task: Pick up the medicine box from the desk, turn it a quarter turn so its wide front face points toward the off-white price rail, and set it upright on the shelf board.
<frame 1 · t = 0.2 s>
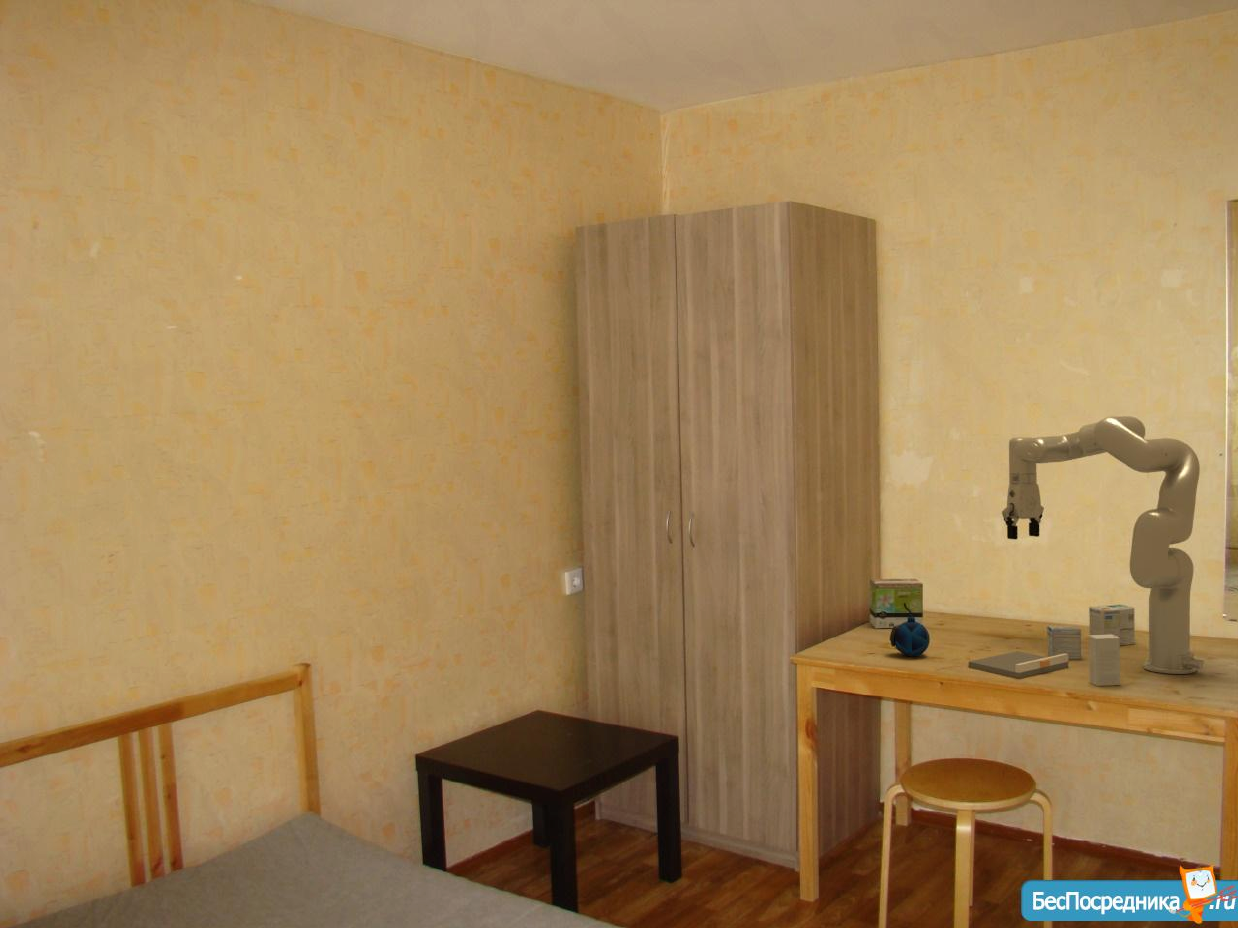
hand: (1023, 537, 318), 31 cm above the table, tool pointing down, fingers open, 9 cm apart
light bulb box: (1112, 644, 313), on the table
medicine box: (1064, 659, 297), on the table
skincare box: (1104, 684, 269), on the table
bomb: (909, 656, 305), on the table
tea box: (896, 626, 347), on the table
shelf board: (1018, 667, 289), on the table
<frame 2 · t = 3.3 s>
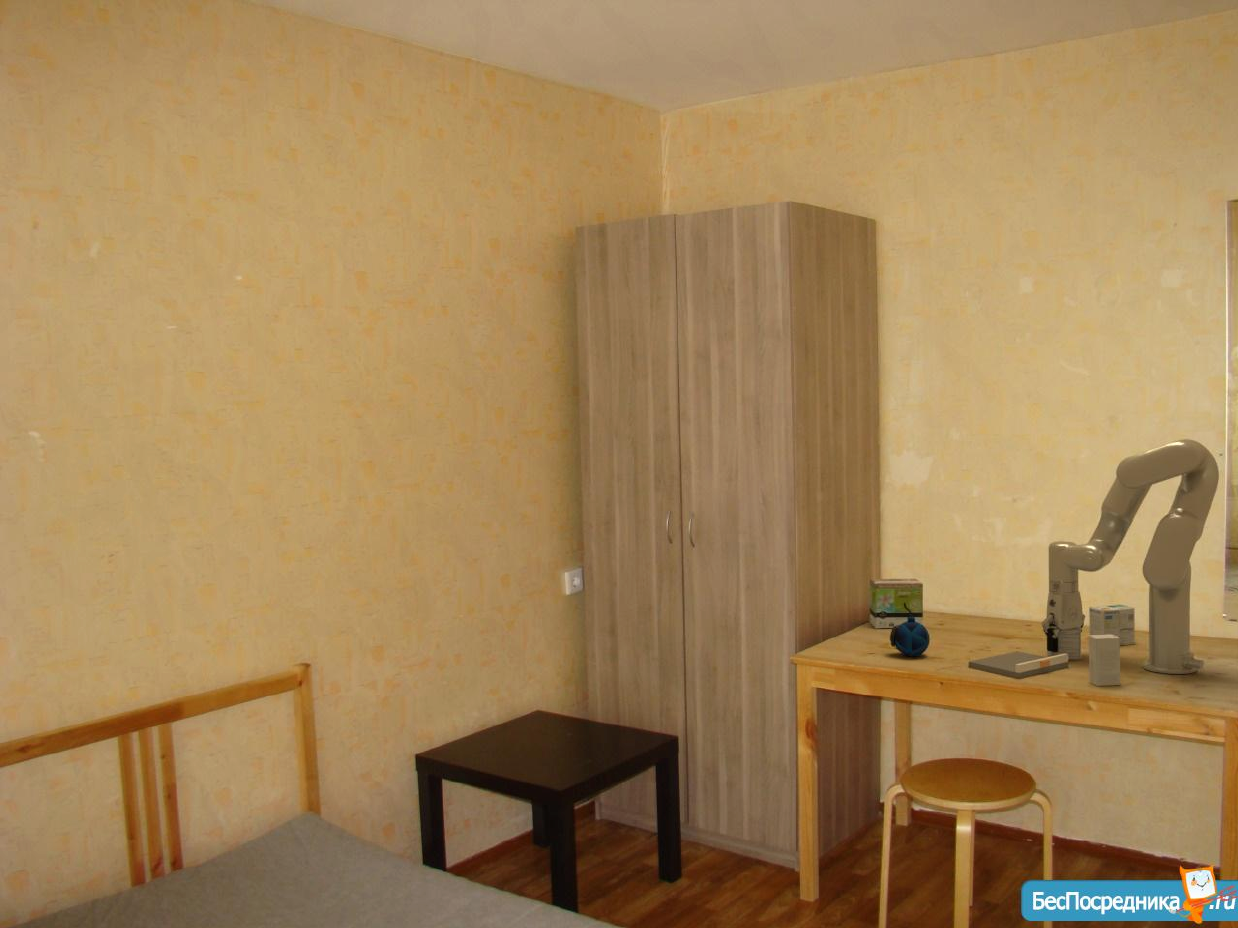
hand: (1063, 648, 297), 3 cm above the table, tool pointing down, fingers open, 9 cm apart
medicine box: (1063, 659, 297), on the table, touching gripper
everything else where it was.
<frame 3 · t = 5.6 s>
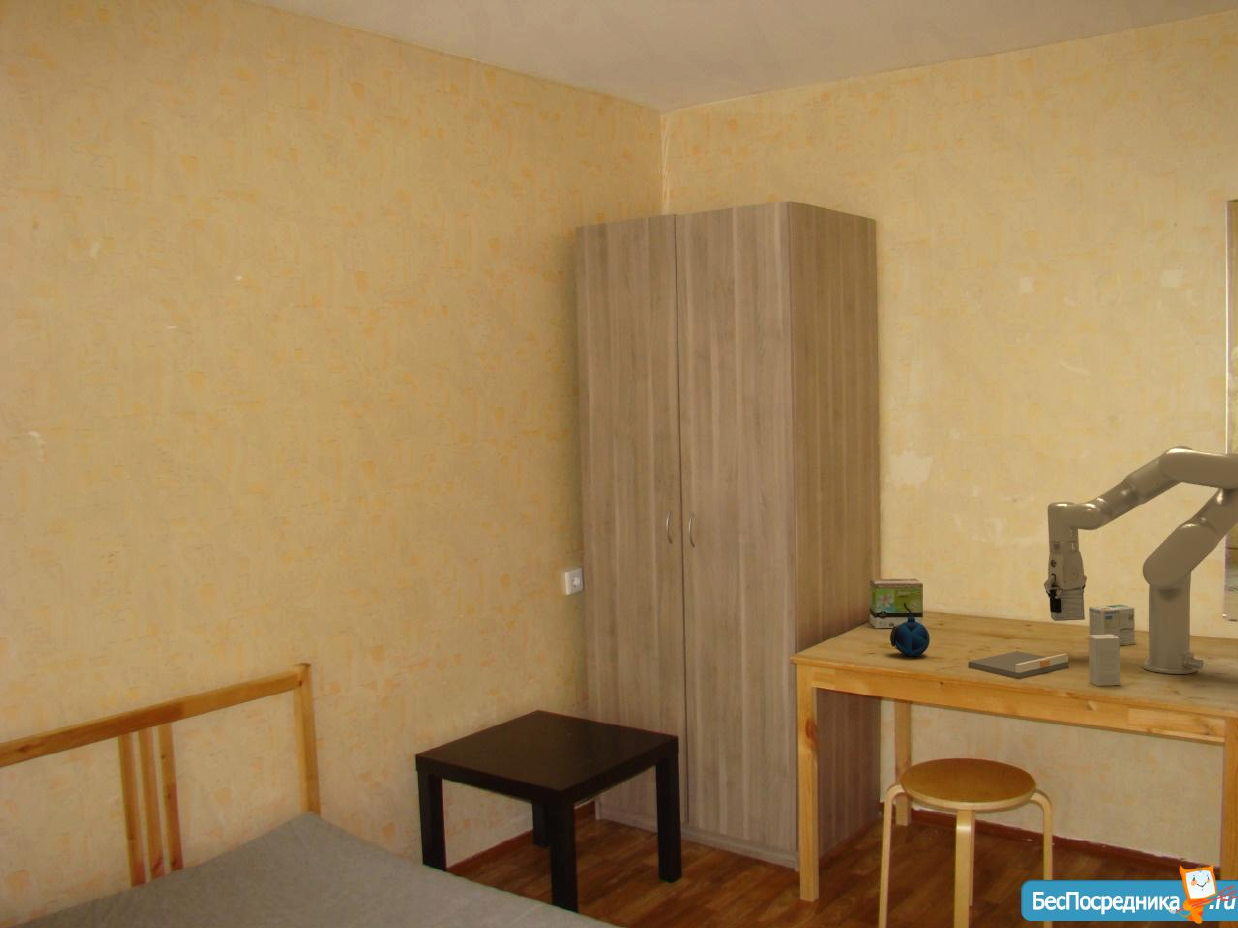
hand: (1066, 610, 296), 13 cm above the table, tool pointing down, fingers closed on medicine box, 9 cm apart
medicine box: (1067, 620, 296), point 11 cm above the table, touching gripper
everything else where it was.
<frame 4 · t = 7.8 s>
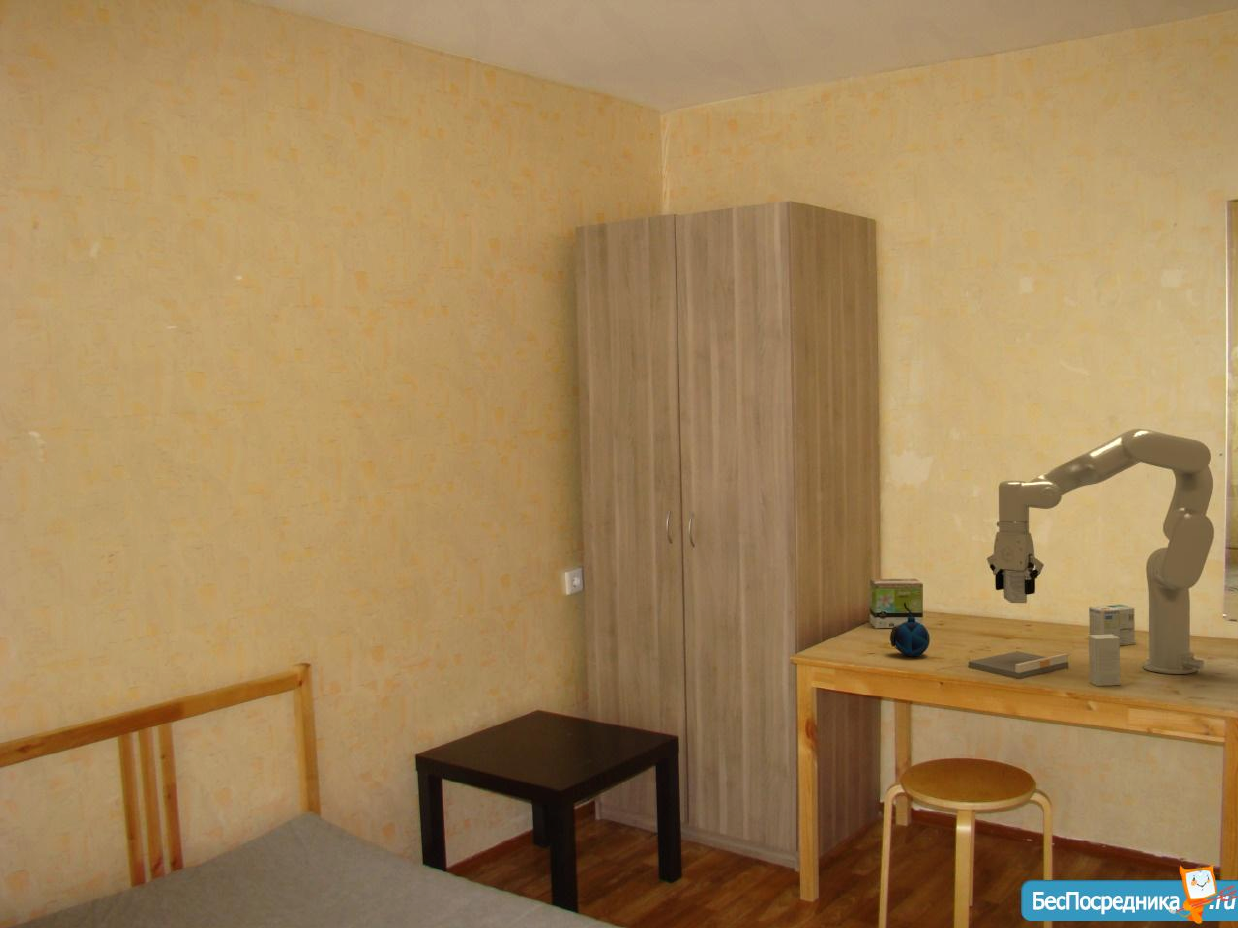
hand: (1014, 591, 289), 20 cm above the table, tool pointing down, fingers closed on medicine box, 9 cm apart
medicine box: (1015, 601, 289), point 17 cm above the table, touching gripper
everything else where it was.
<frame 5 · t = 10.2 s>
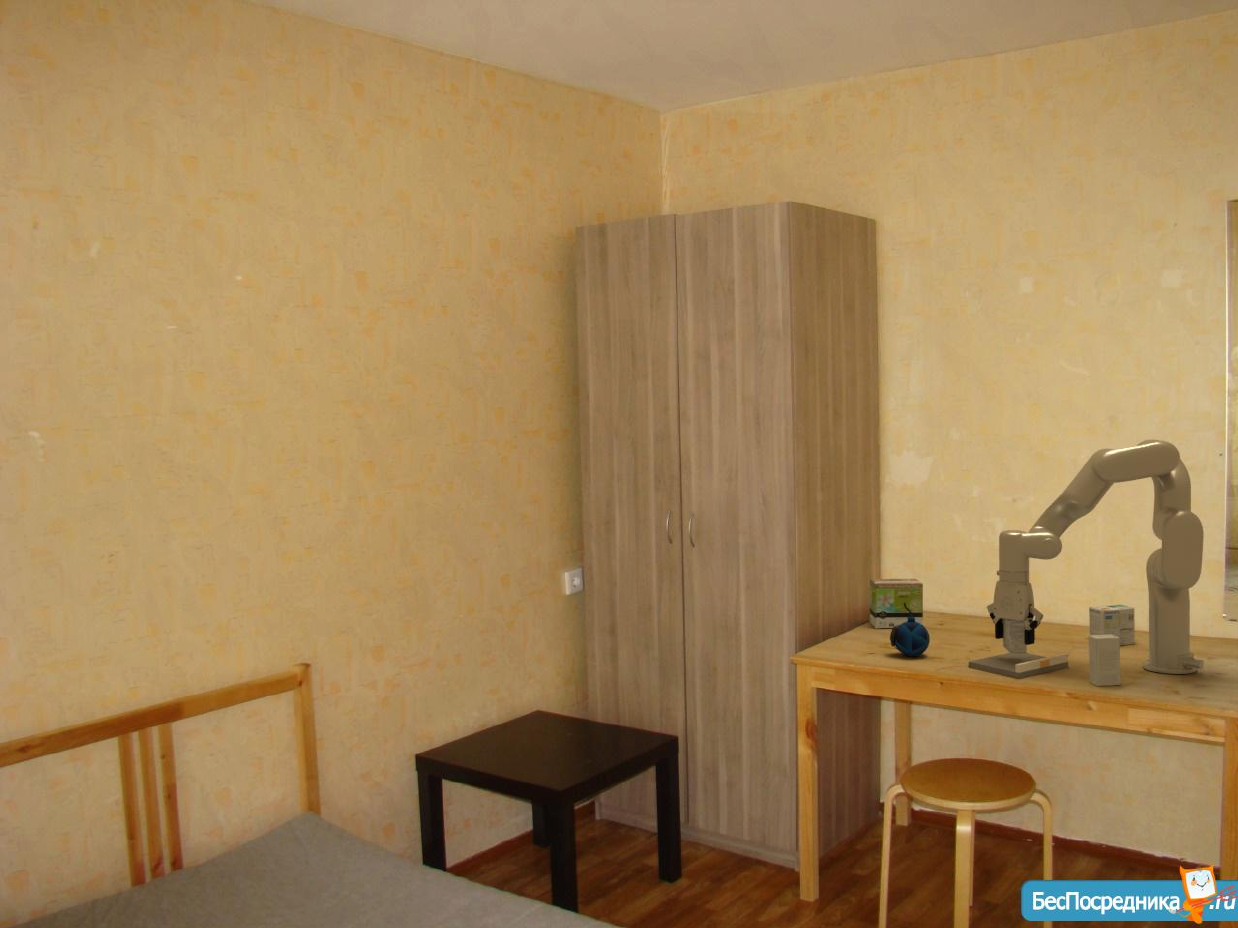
hand: (1014, 640, 289), 7 cm above the table, tool pointing down, fingers closed on medicine box, 9 cm apart
medicine box: (1014, 651, 289), point 4 cm above the table, touching gripper
everything else where it was.
when the fingers open (5 cm above the table, at t = 11.7 s): medicine box drops 1 cm, resting on shelf board.
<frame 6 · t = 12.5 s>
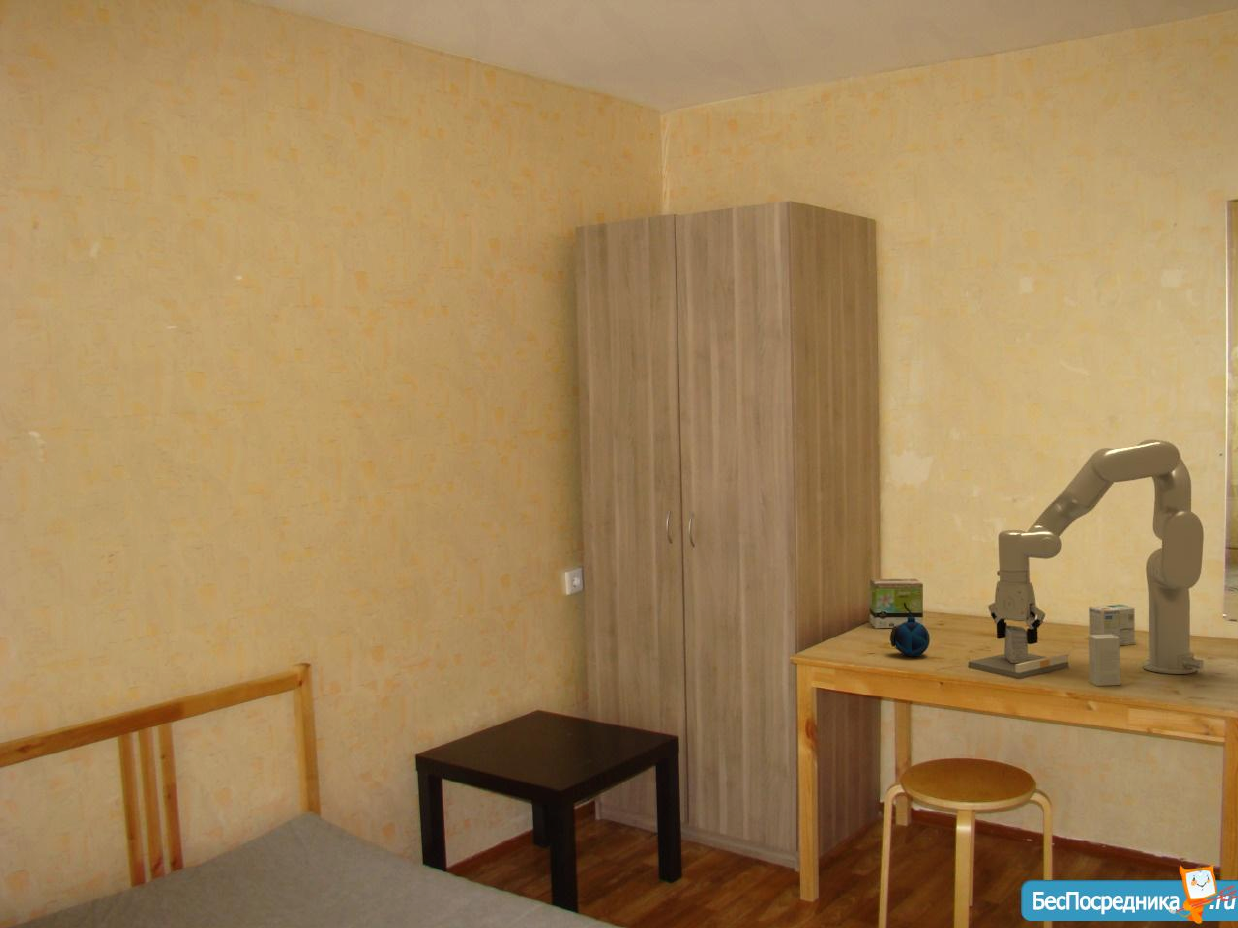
hand: (1017, 640, 289), 7 cm above the table, tool pointing down, fingers open, 9 cm apart
medicine box: (1015, 661, 289), point 1 cm above the table, touching gripper, shelf board
everything else where it was.
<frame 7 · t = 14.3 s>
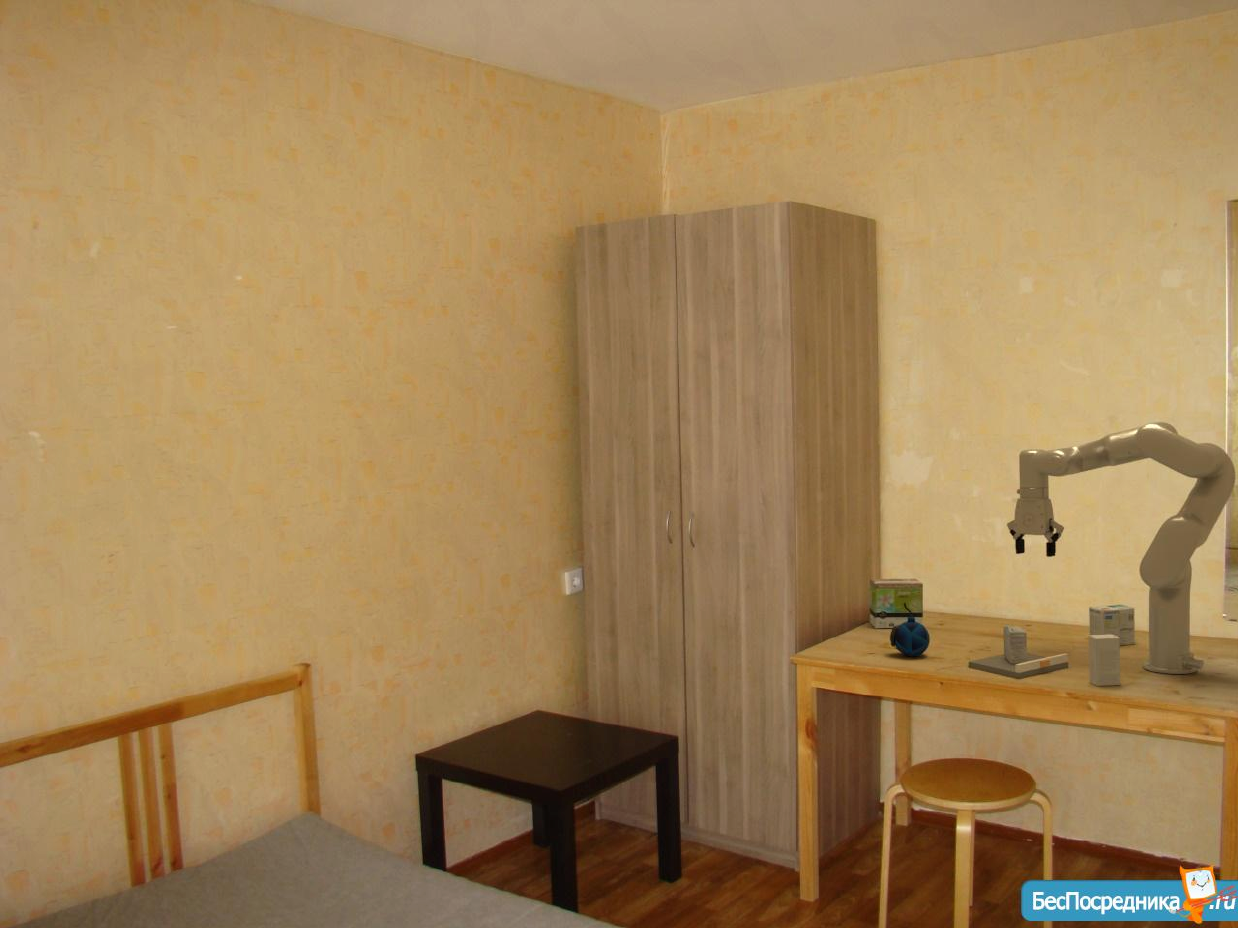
hand: (1035, 554, 303), 28 cm above the table, tool pointing down, fingers open, 9 cm apart
medicine box: (1015, 661, 289), point 1 cm above the table, touching shelf board
everything else where it was.
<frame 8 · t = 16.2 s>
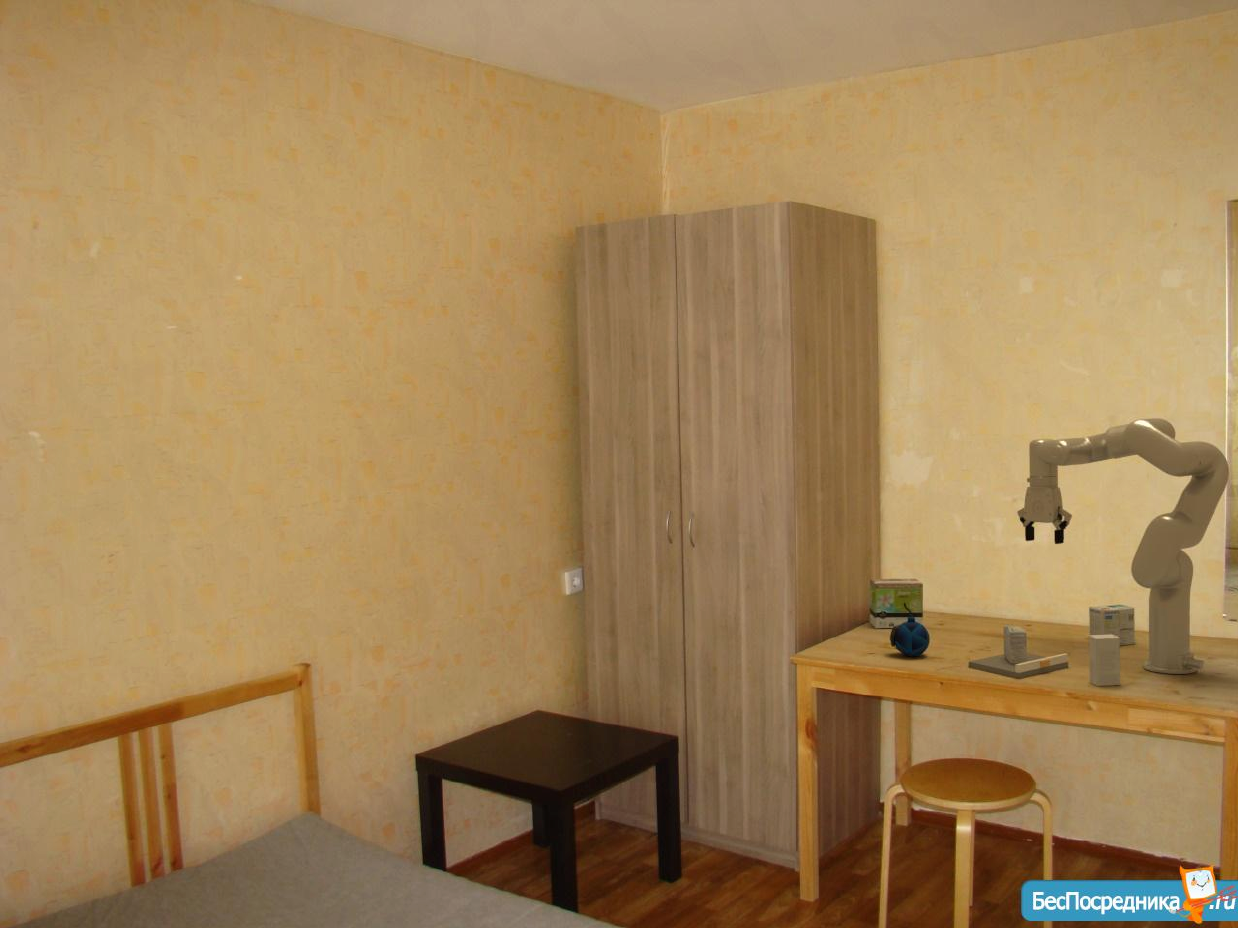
hand: (1044, 542, 310), 30 cm above the table, tool pointing down, fingers open, 9 cm apart
nothing on the table moved.
at the end: medicine box inside the target area on the shelf board (0.6 cm from its centre), point 1.3 cm above the shelf board's base; medicine box tilted 0°; the gripper is holding nothing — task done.
